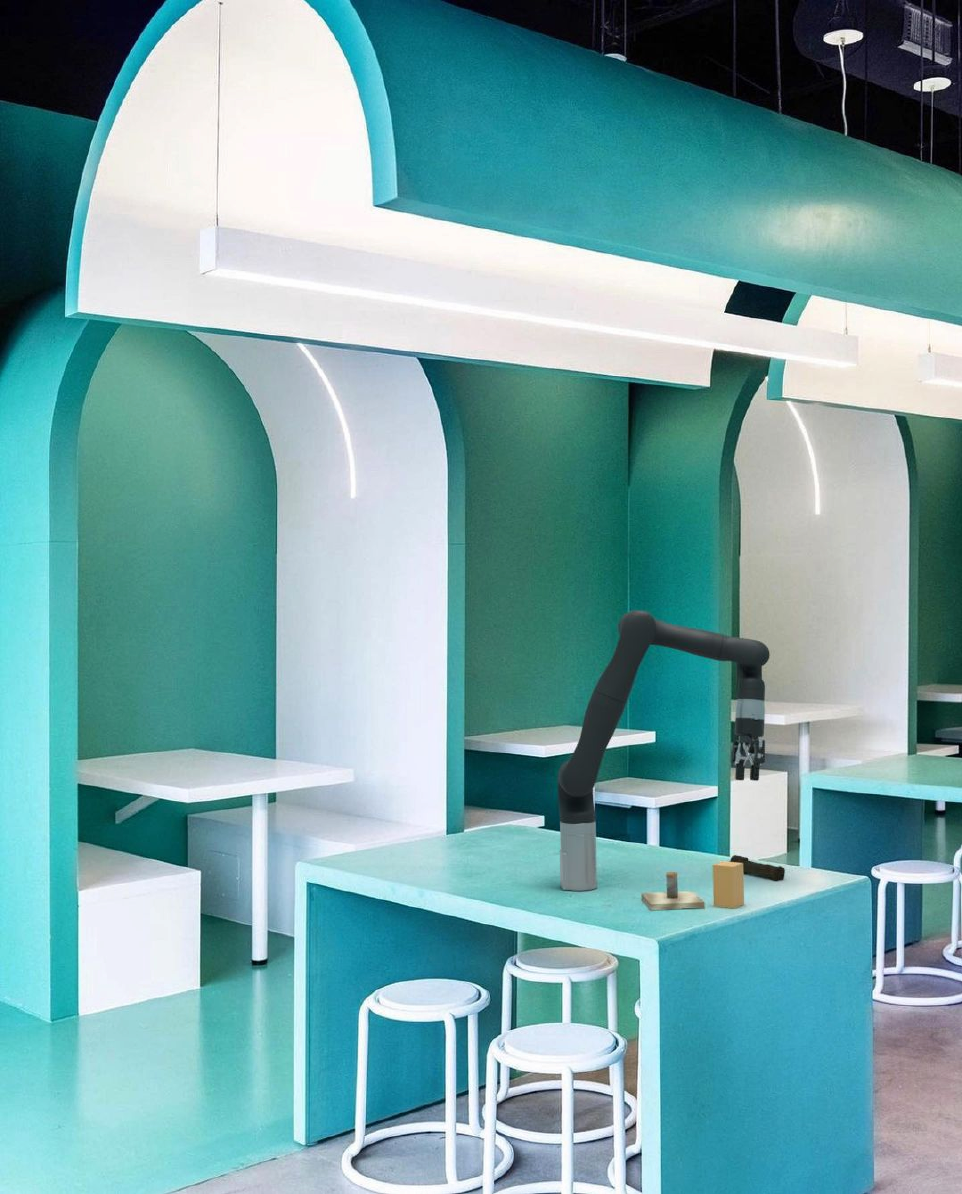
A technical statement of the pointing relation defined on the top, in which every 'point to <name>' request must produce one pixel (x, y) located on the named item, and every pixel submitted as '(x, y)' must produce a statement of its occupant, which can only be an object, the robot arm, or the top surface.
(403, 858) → the top surface
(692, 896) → the post board
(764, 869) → the hand tool
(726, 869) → the tall orange pillar
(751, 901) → the top surface
